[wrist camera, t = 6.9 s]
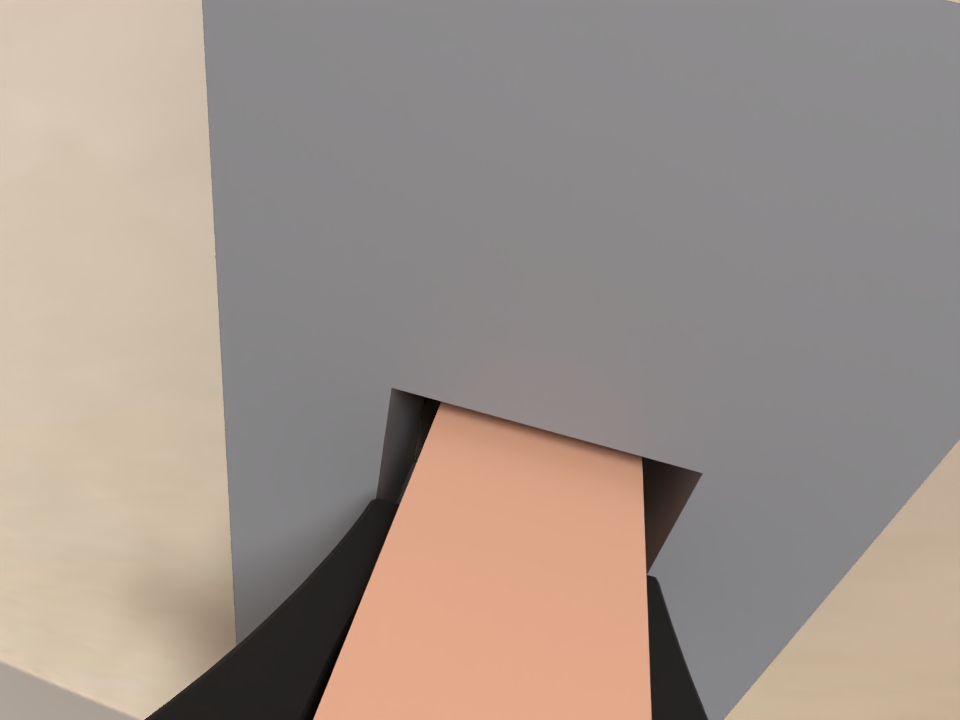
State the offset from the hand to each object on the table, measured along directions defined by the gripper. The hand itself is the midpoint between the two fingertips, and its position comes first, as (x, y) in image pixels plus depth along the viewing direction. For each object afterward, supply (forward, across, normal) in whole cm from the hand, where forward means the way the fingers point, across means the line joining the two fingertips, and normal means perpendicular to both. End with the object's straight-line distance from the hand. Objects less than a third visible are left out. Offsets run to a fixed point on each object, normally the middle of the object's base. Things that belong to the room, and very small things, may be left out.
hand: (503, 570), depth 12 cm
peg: (+2, 0, 0) cm, 2 cm away
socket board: (+5, 0, 0) cm, 5 cm away
